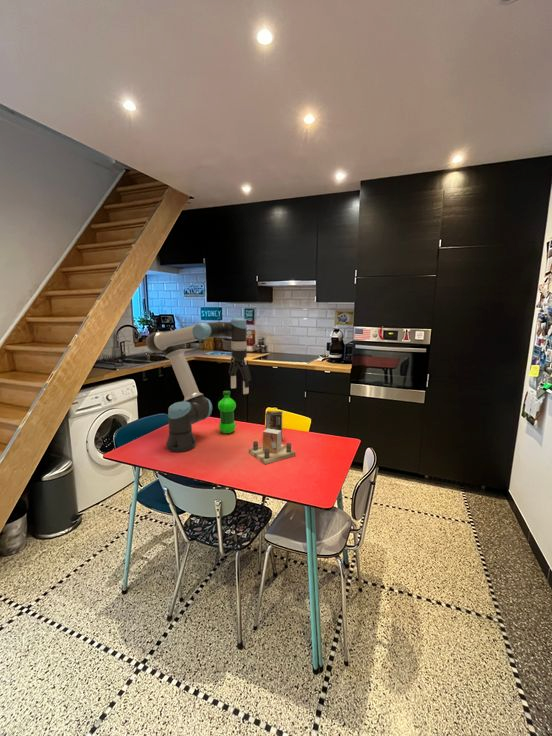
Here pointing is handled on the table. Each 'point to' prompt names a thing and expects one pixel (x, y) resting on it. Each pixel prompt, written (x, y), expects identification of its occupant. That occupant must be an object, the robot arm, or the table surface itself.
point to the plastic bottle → (227, 413)
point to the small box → (272, 440)
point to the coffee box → (274, 420)
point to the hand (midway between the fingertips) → (239, 390)
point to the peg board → (271, 457)
